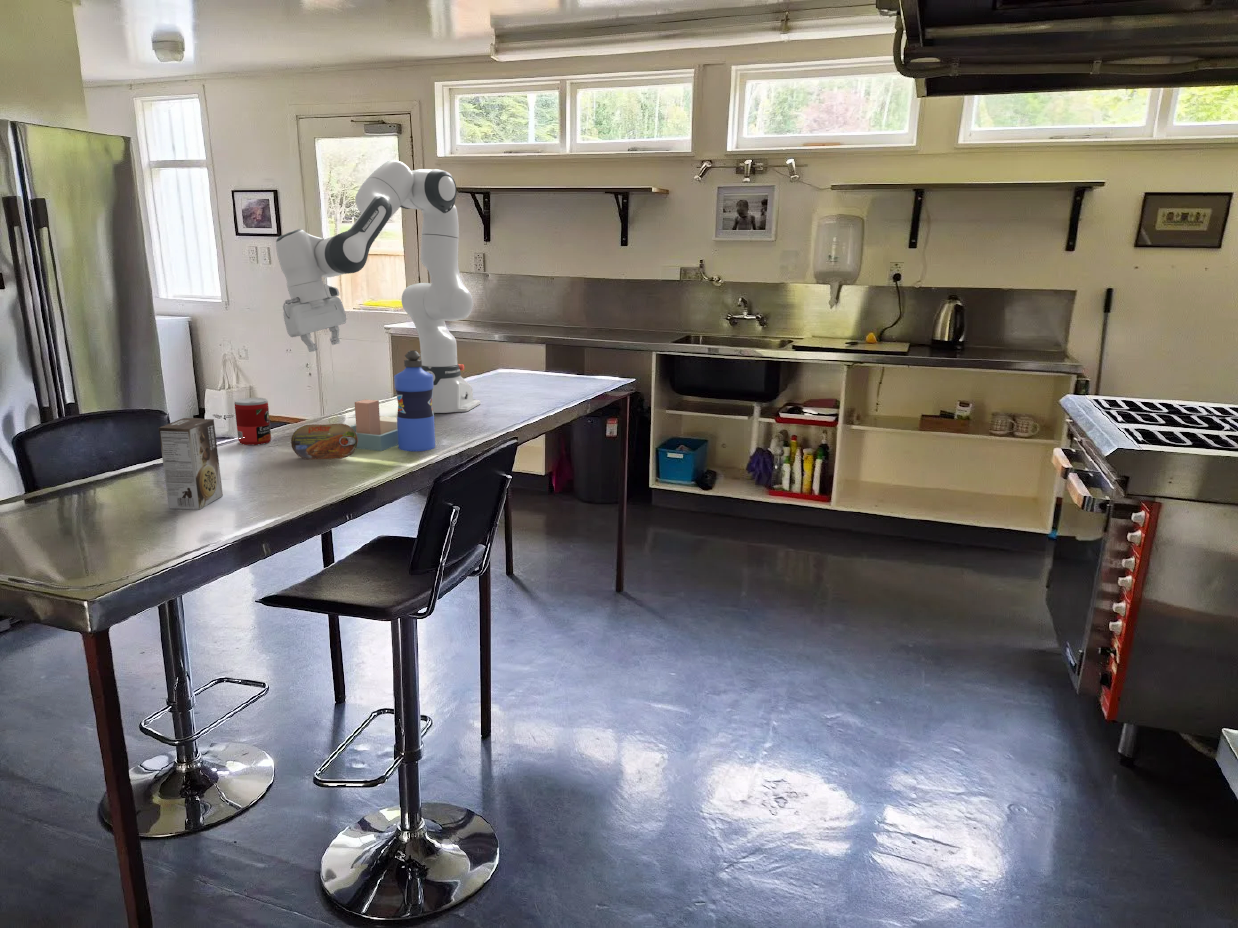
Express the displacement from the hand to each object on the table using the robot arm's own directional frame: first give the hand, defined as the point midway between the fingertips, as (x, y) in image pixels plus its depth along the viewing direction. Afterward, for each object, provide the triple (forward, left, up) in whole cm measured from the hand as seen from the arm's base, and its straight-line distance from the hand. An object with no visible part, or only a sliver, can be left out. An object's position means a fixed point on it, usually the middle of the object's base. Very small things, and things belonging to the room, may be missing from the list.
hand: (325, 347), depth 212 cm
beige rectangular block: (-1, +18, -23) cm, 29 cm away
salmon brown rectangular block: (+7, +18, -23) cm, 30 cm away
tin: (+20, +15, -24) cm, 35 cm away
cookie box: (+59, +15, -24) cm, 66 cm away
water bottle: (+5, +30, -24) cm, 39 cm away
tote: (+3, +18, -24) cm, 30 cm away
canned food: (+14, -12, -24) cm, 31 cm away
